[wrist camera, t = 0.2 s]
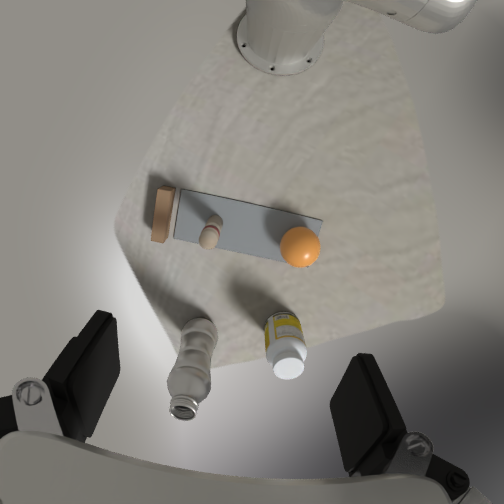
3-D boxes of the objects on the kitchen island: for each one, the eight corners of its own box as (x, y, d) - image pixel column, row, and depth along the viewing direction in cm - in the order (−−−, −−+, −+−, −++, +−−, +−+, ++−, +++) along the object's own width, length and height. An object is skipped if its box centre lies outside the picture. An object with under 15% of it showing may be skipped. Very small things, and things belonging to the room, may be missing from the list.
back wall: (163, 185, 44) (157, 189, 41) (175, 188, 44) (170, 191, 42) (156, 234, 47) (150, 240, 44) (168, 236, 47) (163, 243, 45)
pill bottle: (272, 343, 55) (276, 388, 44) (258, 318, 53) (259, 362, 42) (305, 331, 54) (315, 375, 43) (292, 304, 52) (301, 347, 41)
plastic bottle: (176, 327, 54) (149, 410, 35) (199, 306, 52) (177, 390, 33) (203, 347, 55) (187, 432, 37) (227, 327, 54) (217, 414, 35)
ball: (283, 217, 46) (288, 229, 41) (320, 226, 47) (329, 239, 41) (274, 253, 48) (276, 269, 43) (309, 261, 49) (316, 277, 43)
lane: (182, 189, 45) (181, 189, 44) (322, 220, 46) (322, 221, 46) (174, 238, 47) (173, 238, 47) (307, 266, 49) (308, 267, 49)
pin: (209, 212, 46) (200, 229, 38) (225, 216, 46) (219, 233, 38) (206, 228, 47) (196, 247, 39) (221, 231, 47) (215, 251, 39)
